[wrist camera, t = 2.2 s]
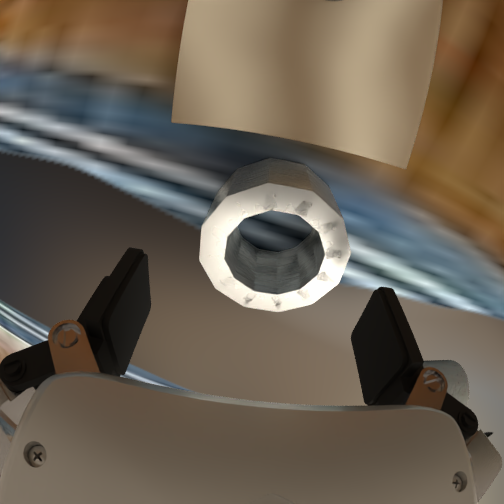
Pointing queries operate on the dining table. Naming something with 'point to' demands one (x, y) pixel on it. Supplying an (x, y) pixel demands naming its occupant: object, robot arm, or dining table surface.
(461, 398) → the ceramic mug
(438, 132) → the dining table surface
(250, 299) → the ring
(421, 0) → the block
